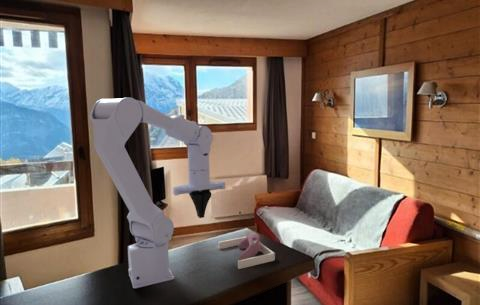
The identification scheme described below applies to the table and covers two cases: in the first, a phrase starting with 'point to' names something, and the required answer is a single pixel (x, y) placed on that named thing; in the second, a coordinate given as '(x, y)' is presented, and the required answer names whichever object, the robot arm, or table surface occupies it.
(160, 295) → the table surface
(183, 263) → the table surface
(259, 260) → the dock
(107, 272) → the table surface
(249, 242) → the video game controller
